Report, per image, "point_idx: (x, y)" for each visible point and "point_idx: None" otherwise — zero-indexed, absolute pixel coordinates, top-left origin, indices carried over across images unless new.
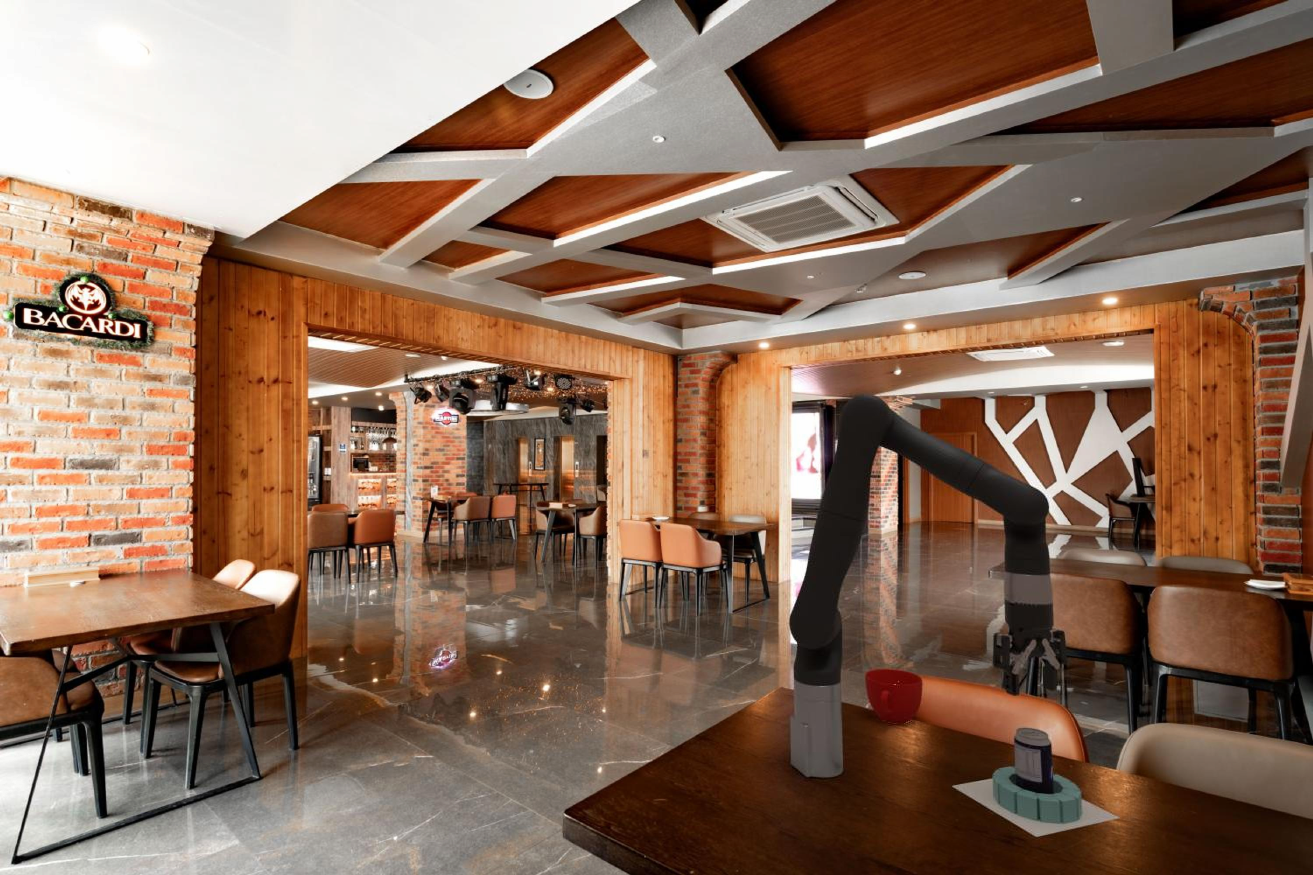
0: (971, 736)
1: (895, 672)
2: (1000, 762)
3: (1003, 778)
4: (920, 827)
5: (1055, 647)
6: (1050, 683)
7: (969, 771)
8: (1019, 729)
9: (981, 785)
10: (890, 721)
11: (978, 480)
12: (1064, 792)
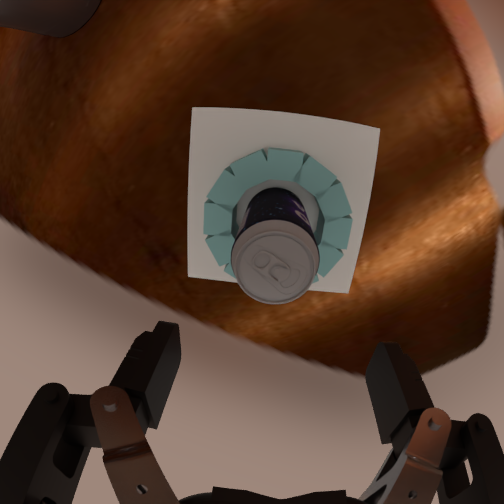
0: None
1: None
2: (382, 69)
3: (236, 186)
4: (79, 187)
5: (459, 501)
6: (376, 382)
7: (292, 63)
8: (272, 231)
9: (246, 125)
10: None
11: None
12: None
